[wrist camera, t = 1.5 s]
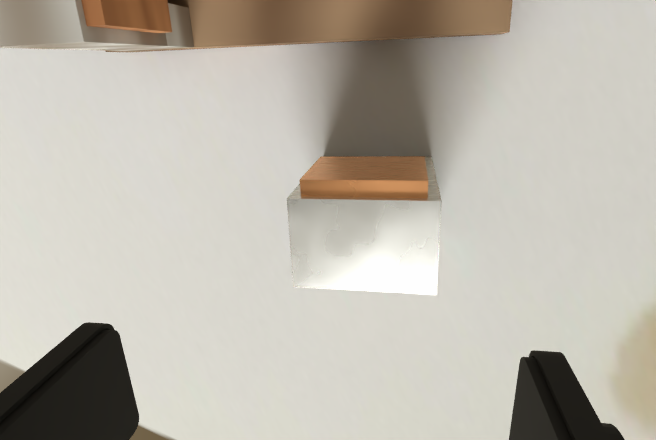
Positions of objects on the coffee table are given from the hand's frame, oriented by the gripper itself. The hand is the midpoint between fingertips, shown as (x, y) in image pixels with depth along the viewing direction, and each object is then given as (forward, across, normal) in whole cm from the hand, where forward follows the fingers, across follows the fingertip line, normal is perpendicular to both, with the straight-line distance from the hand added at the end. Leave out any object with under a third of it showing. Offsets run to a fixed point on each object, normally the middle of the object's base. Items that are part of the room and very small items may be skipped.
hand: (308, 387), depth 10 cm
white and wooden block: (+16, -1, 0) cm, 16 cm away
